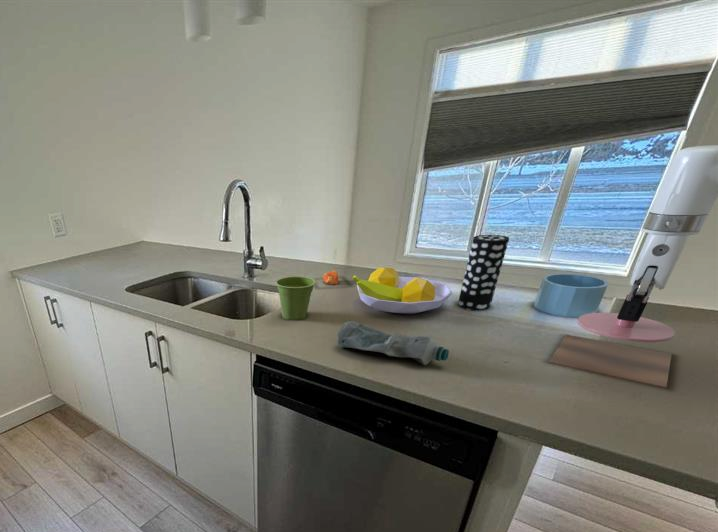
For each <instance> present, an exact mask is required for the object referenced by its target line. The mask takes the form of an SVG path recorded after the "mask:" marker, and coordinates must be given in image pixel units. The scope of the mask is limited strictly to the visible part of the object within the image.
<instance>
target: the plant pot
mask: <svg viewBox="0 0 718 532" xmlns="http://www.w3.org/2000/svg"><path fill="white" fill-rule="evenodd" d="M316 284H317V281H316V279H314V278H312V277H308V276H302V275H301V276H299V275H295V276H291V275H290V276H284V277H282V278H278V279H277V280H275V285H276V286H277V292H278V295H279V302H280V309H281V317H282V318H283V320H284V319H285V320H286V321H289V320H291V321H298V320H302V319H305V318H306V317H307V313H308V309H309V304H310V300H311V296H312V292H313V289H314V286H315V285H316Z"/></svg>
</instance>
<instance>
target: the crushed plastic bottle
mask: <svg viewBox="0 0 718 532" xmlns="http://www.w3.org/2000/svg"><path fill="white" fill-rule="evenodd" d="M337 345H338V347H339V348H340V349H345V348H351V349H357V350H361V351H369V352H377V353H382V354H385V355H387V356H389V357H395V358H412V359H413V360H414V361H416V362H418V363H419V364H421V365H423V366H427V365H429V363H430V362H431V361H432V360H435V361H438V362H440V361H447V359H448V358H449V354H450V351H449V350H450V349H447V348H445V347H443V346H437V344H436V341H435V339H434V338H433V337H430V336H409V335H406V334H403V333H399V332H398V333H397V332H396V333H394V334H389V333H386V332H383V331H380V330H377V329H374V328H372V327H369V326H367V325H365V324H362V323H359V322H357V321H355V320H347V321H346V322H344V323H343V325H342V326H341V328H340V329H339V330H338V332H337Z"/></svg>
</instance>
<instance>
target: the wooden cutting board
mask: <svg viewBox="0 0 718 532" xmlns="http://www.w3.org/2000/svg"><path fill="white" fill-rule="evenodd" d="M672 355H673V353H669V352H664V351H658V350H653V349H647V348H641V347H636V346H630V345H625V344H619V343H614V342H608V341H603V340H597V339H593V338H586V337H581V336H576V335H570V334H565V336H564V338H563V340H562V341H561V343H560V344H559V346H558V347H557V349H556V351H555V352H554V354H553V355H552V357H551V358H550V360H549V361H548V363H549V364H552V365H558V366H562V367H567V368H571V369H576V370H579V371H585V372H590V373H594V374H599V375H602V376H607V377H612V378H616V379H621V380H625V381H629V382H634V383H638V384H642V385H647V386H653V387H657V388H661V389H667V387H668V381H669V374H670V369H671V368H670V367H671V363H672V362H671V361H672Z"/></svg>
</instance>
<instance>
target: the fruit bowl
mask: <svg viewBox="0 0 718 532" xmlns="http://www.w3.org/2000/svg"><path fill="white" fill-rule="evenodd" d="M352 279H353V280H354V281H355V283H356V288H357V292H358V295H359V298H360V300H361V302H363V303H364V304H366V305H367V306H368V307H370V308H373V309H375V310H377V311H380V312H386V313H393V314H402V315H415V314H419V313H422V312H426V311H431V310H435V309H439V308H440V307H441V306H442V305H443V304H444V303H445V302H446V301H447V300H448V299H449V298H450V296H452V294H453V293H454V292H453V291H452V290H451V289H450V287H449V286H448V285H447V284H446V283H442V282H440V281H435V280H431V279H427V278H424V277H418V276H415V277H414V276H413V277H410V276H400V275H399V272H398V271H397V270H395V268H394V267H385V266H380V267H378V268H377V269H376V270H374V271H373V272H371V273H370V275H369V277H368V279H362V278H359V277H358V276H357V275H353V276H352Z"/></svg>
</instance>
